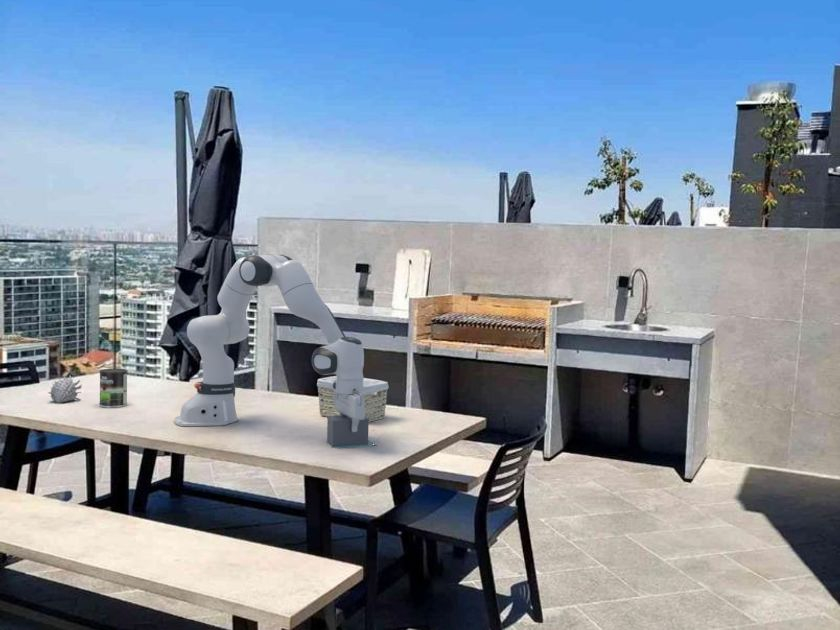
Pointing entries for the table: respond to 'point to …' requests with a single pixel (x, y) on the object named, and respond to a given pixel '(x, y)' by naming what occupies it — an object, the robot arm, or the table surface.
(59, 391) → the sea urchin
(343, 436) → the slate gray brick
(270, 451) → the table surface
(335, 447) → the teal flat pad
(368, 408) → the storage basket
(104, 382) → the coffee can
